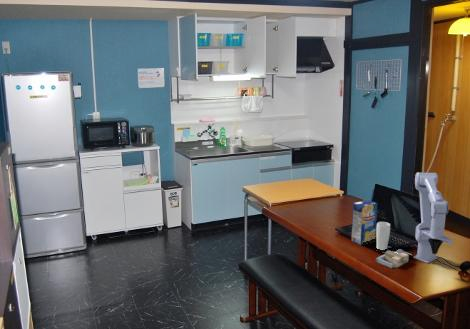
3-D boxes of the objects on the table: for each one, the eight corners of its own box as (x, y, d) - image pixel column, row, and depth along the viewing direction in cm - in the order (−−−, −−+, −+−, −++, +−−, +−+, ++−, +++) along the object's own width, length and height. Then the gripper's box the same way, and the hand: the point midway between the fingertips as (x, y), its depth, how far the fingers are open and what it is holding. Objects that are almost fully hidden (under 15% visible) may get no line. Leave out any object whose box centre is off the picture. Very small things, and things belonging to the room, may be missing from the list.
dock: (392, 253, 232) (392, 250, 231) (408, 260, 225) (408, 256, 224) (375, 261, 223) (375, 258, 223) (391, 268, 216) (392, 264, 216)
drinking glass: (385, 247, 239) (387, 221, 235) (390, 253, 232) (392, 226, 229) (373, 248, 239) (374, 221, 235) (377, 253, 232) (379, 226, 229)
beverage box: (351, 240, 248) (353, 203, 243) (365, 236, 254) (368, 199, 248) (360, 245, 243) (362, 206, 237) (374, 240, 248) (377, 203, 243)
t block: (392, 255, 230) (392, 248, 229) (407, 262, 223) (408, 254, 222) (380, 261, 224) (380, 253, 223) (396, 267, 217) (396, 260, 216)
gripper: (418, 223, 210) (415, 250, 214) (448, 233, 199) (445, 261, 202) (426, 220, 215) (423, 246, 218) (456, 229, 203) (453, 256, 207)
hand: (434, 253), depth 210 cm, fingers closed
